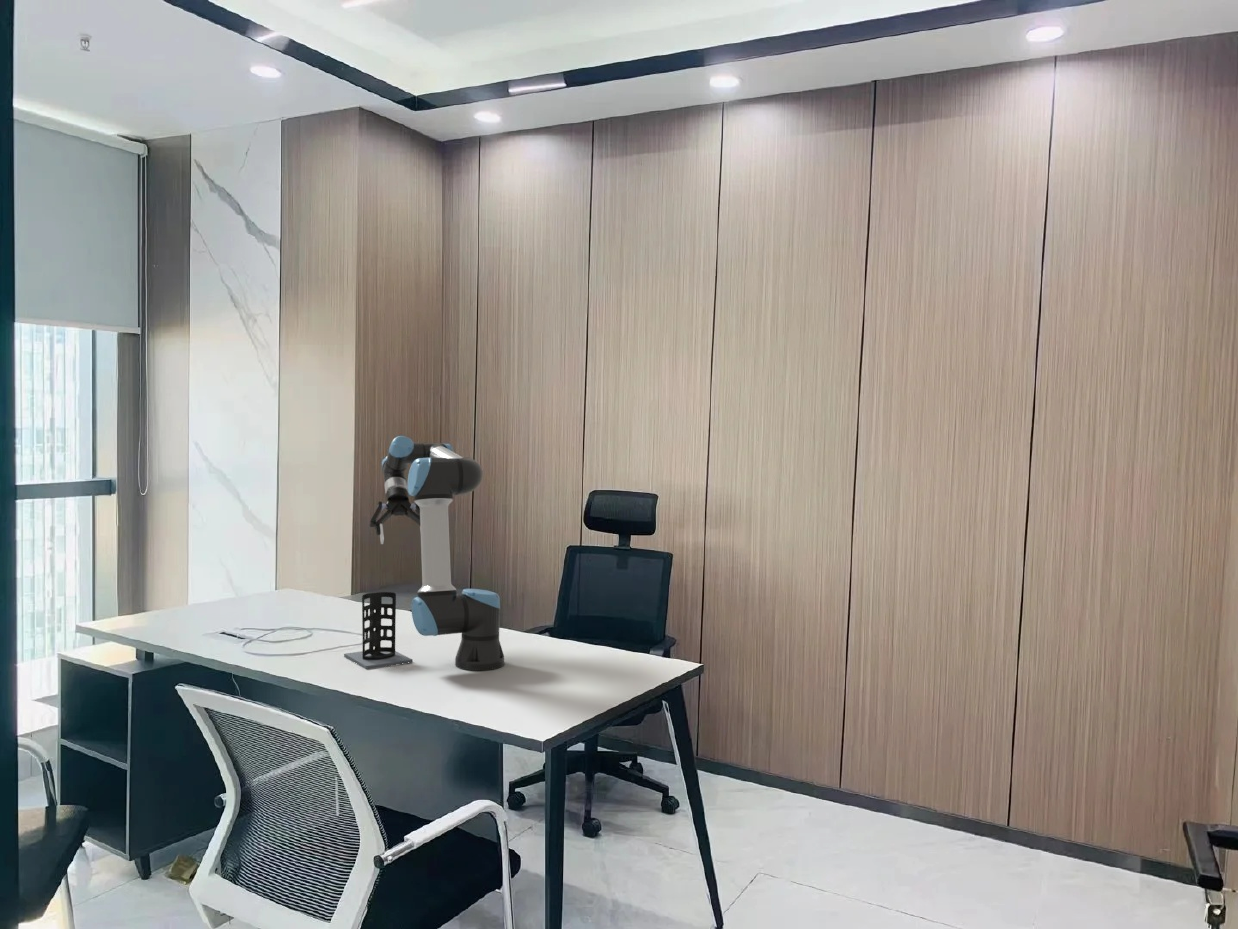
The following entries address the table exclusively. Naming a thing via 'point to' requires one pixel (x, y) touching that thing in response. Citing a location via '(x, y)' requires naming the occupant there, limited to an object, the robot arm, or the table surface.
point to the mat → (377, 660)
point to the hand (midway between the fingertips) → (403, 541)
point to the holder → (378, 625)
